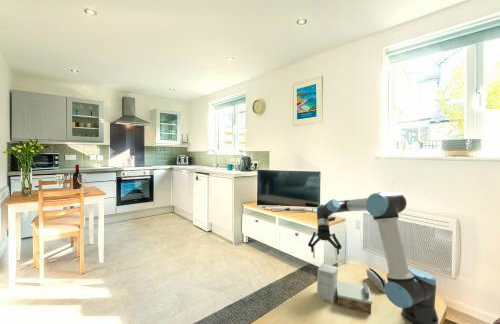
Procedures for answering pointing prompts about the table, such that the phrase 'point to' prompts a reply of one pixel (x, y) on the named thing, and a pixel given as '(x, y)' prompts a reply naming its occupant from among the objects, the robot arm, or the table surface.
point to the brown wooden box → (354, 305)
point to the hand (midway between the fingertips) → (325, 258)
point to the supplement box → (327, 282)
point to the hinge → (376, 278)
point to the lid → (354, 292)
